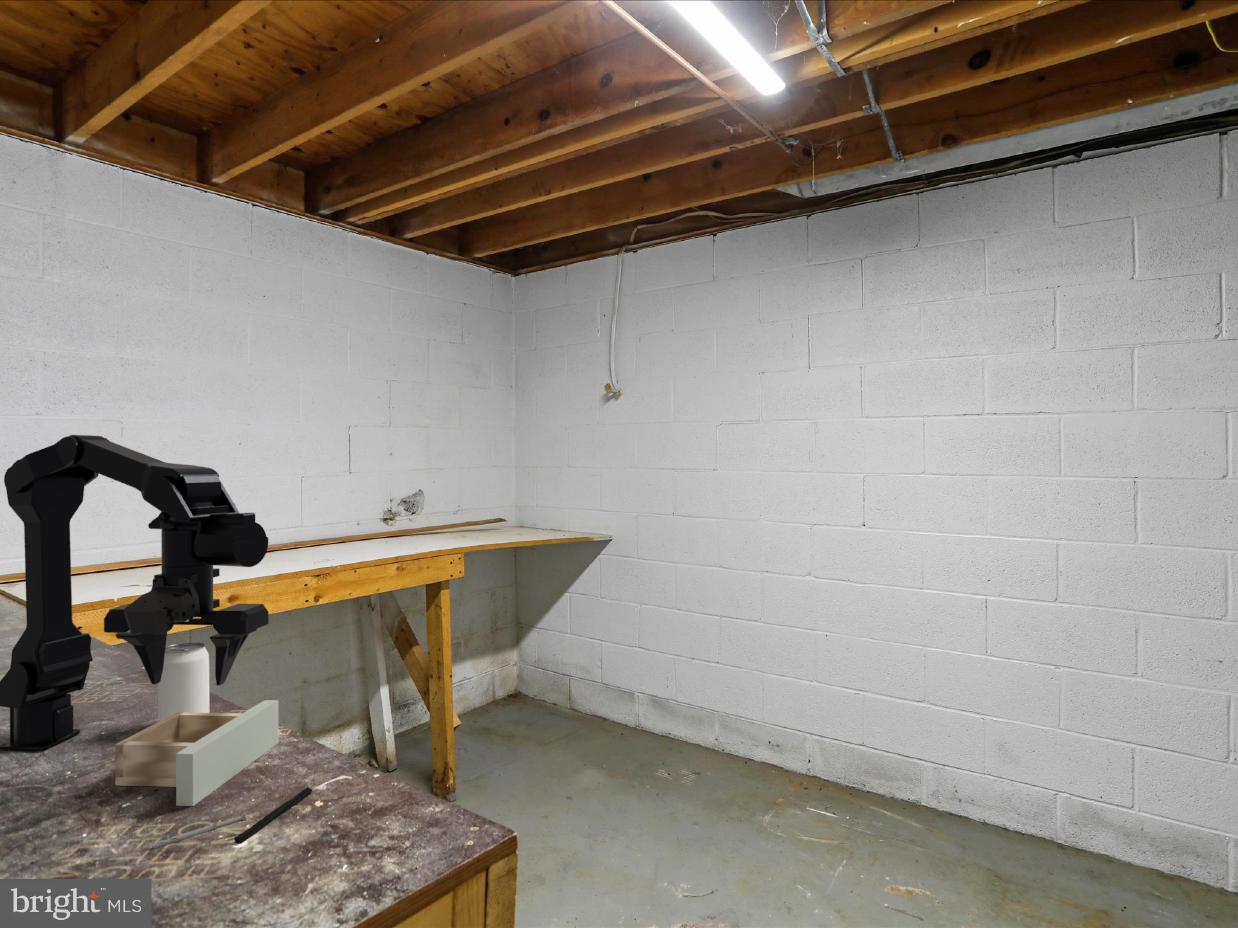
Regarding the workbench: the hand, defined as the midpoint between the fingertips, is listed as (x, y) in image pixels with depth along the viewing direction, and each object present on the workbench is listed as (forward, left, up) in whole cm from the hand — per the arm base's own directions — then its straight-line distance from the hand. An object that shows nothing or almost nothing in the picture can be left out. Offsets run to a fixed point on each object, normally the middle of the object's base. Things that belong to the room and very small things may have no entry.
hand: (188, 683), depth 90 cm
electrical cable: (+18, -11, -11) cm, 24 cm away
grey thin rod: (+12, -15, -11) cm, 23 cm away
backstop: (+7, -1, -11) cm, 13 cm away
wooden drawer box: (0, 0, -11) cm, 11 cm away
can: (-10, +13, -11) cm, 20 cm away
